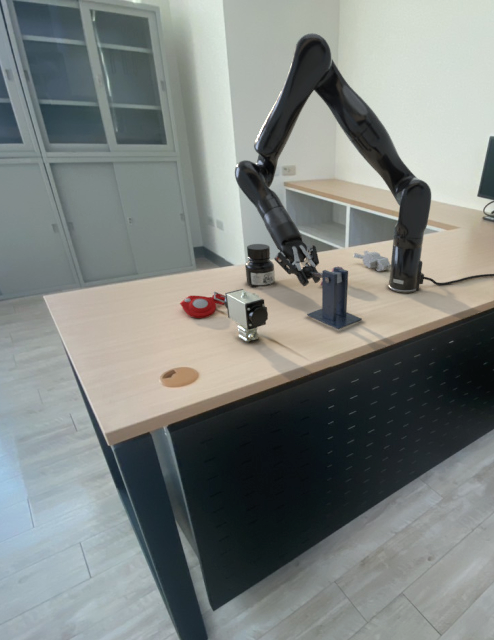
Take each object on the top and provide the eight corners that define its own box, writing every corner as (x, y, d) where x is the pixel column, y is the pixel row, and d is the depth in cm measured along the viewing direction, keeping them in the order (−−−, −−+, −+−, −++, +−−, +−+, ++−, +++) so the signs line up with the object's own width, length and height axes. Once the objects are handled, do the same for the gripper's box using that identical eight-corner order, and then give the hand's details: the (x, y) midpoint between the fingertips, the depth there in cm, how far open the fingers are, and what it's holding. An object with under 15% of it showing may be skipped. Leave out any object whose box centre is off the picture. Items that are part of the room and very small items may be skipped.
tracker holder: (205, 317, 105) (171, 303, 106) (206, 329, 108) (174, 315, 109) (231, 292, 113) (199, 279, 114) (231, 304, 116) (201, 291, 117)
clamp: (307, 317, 111) (306, 268, 103) (330, 309, 117) (331, 261, 109) (338, 332, 104) (339, 280, 97) (361, 322, 110) (364, 273, 103)
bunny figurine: (379, 263, 143) (351, 248, 152) (376, 276, 147) (349, 261, 155) (397, 259, 149) (369, 245, 157) (394, 272, 152) (367, 258, 160)
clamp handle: (298, 280, 112) (296, 266, 110) (308, 277, 114) (306, 264, 112) (334, 286, 103) (333, 272, 101) (344, 283, 105) (343, 269, 103)
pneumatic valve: (254, 350, 94) (249, 301, 88) (227, 333, 101) (221, 286, 94) (273, 343, 97) (270, 295, 91) (246, 327, 104) (242, 282, 98)
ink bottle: (254, 291, 126) (251, 252, 119) (241, 283, 131) (237, 245, 125) (281, 285, 131) (279, 247, 125) (267, 277, 137) (264, 241, 130)
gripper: (266, 223, 104) (298, 281, 103) (307, 217, 113) (337, 270, 112) (255, 240, 109) (286, 295, 109) (295, 233, 118) (324, 284, 118)
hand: (312, 282), depth 111 cm, fingers closed on clamp handle, 3 cm apart
